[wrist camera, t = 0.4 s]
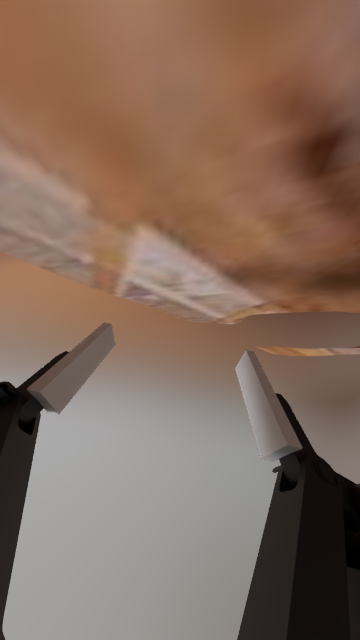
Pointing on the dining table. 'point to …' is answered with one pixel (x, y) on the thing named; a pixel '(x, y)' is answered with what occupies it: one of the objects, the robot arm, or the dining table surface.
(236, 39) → the dining table surface
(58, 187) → the dining table surface
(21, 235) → the dining table surface
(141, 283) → the dining table surface
